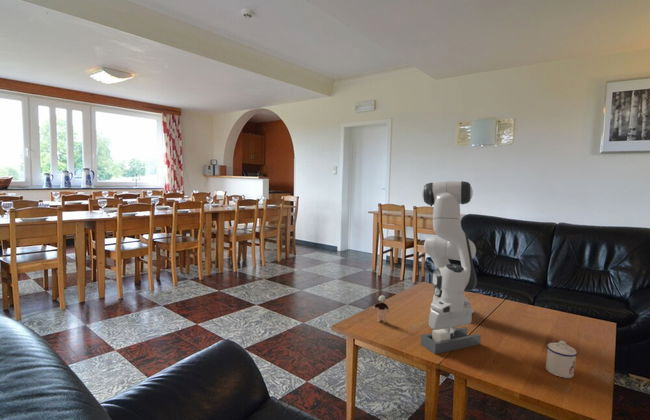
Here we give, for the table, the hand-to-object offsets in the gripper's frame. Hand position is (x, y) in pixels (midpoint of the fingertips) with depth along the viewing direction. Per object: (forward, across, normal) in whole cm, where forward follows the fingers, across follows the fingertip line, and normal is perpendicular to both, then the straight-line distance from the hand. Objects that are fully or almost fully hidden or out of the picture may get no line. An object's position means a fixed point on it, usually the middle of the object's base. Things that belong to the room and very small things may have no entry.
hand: (449, 336), depth 150 cm
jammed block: (+2, +4, 0) cm, 5 cm away
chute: (+4, -1, 0) cm, 4 cm away
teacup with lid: (+4, -25, +30) cm, 39 cm away
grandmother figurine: (+4, +14, -30) cm, 34 cm away
